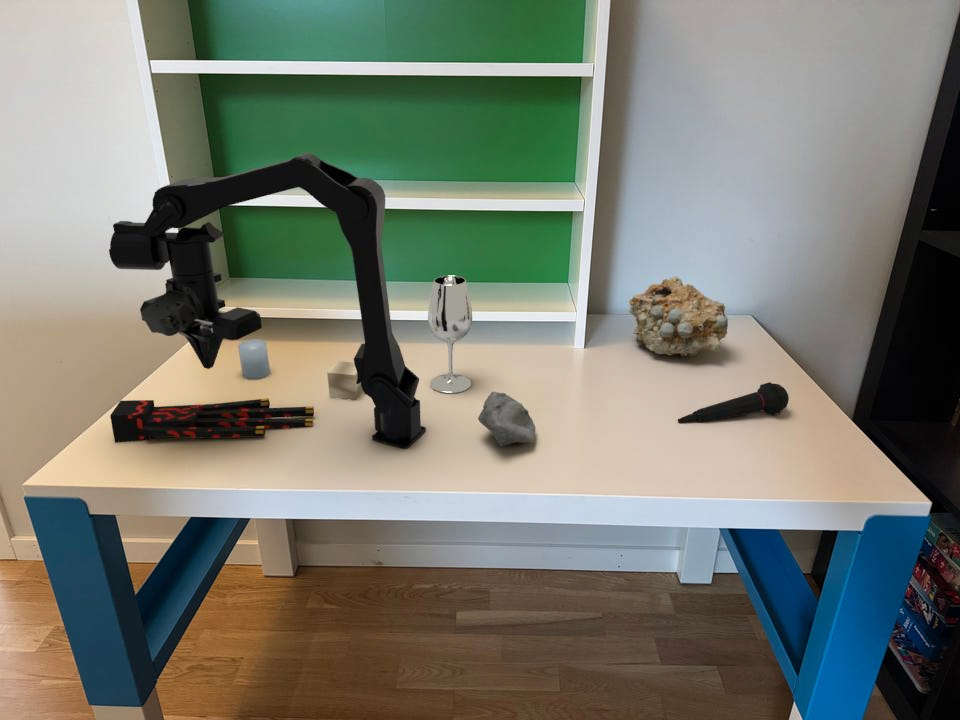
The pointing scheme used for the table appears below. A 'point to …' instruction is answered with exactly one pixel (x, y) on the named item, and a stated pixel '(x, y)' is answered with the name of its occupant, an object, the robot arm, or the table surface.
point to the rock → (677, 319)
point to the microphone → (744, 405)
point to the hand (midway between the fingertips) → (208, 367)
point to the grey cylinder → (254, 359)
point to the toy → (203, 420)
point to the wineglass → (450, 325)
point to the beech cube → (344, 381)
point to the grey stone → (507, 419)
